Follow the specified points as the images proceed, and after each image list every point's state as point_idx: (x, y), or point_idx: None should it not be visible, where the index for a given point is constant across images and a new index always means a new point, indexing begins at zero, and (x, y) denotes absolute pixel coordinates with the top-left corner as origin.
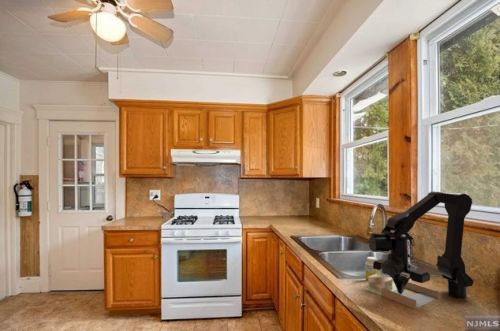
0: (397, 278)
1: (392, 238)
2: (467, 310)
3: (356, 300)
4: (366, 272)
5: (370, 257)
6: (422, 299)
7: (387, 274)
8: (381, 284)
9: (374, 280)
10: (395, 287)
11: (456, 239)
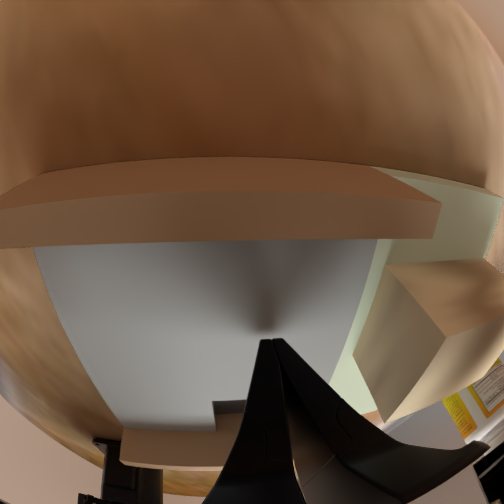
0: (332, 477)
1: None
2: (47, 407)
3: (452, 10)
4: (498, 358)
5: None
6: (131, 383)
7: (476, 443)
8: (450, 304)
9: (499, 301)
10: (346, 390)
11: None
